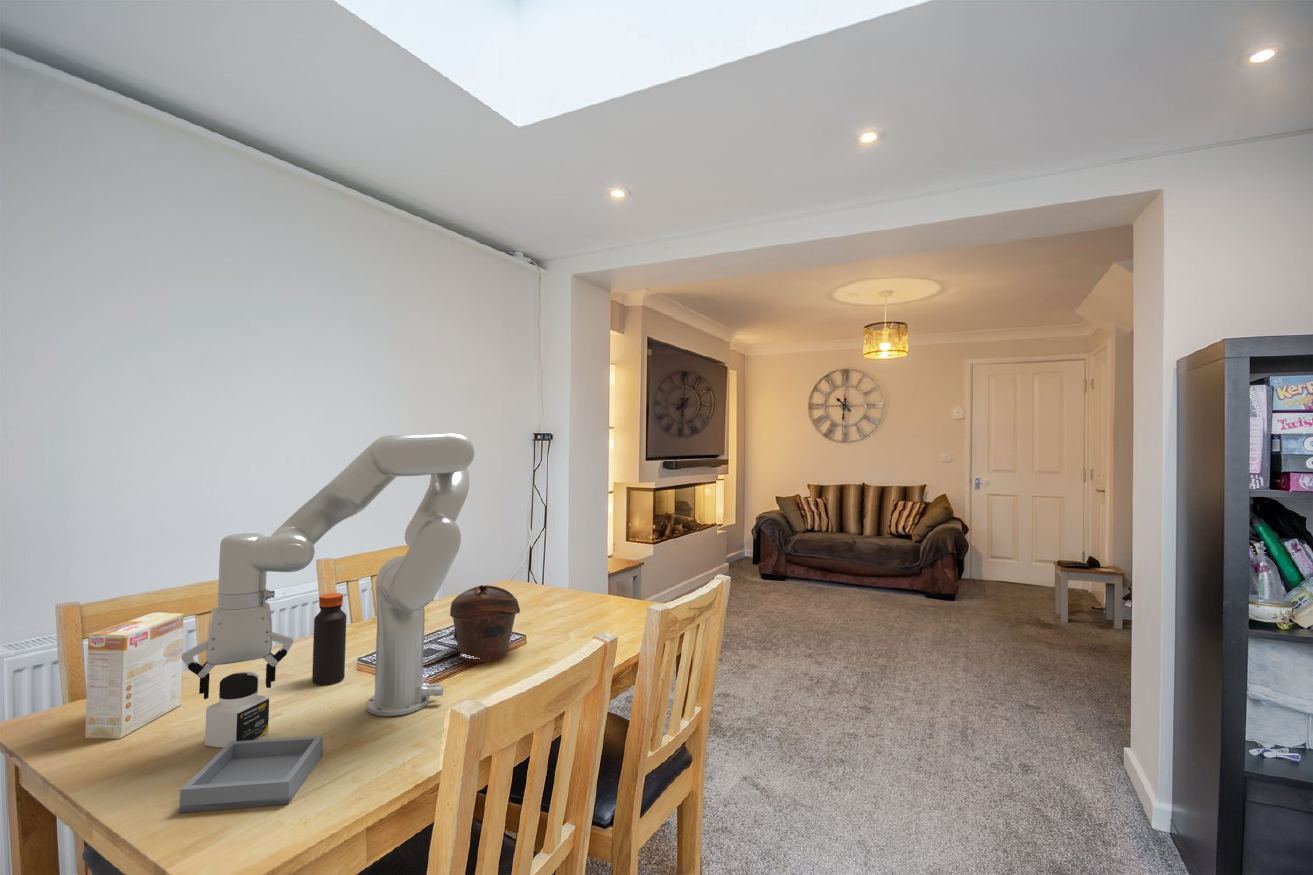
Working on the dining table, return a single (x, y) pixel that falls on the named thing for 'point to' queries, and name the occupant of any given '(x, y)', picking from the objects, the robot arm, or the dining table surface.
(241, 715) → the medicine bottle
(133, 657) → the coffeecake box
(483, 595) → the brown lidded pot
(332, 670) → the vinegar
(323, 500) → the robot arm
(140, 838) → the dining table surface
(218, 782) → the grey tray
